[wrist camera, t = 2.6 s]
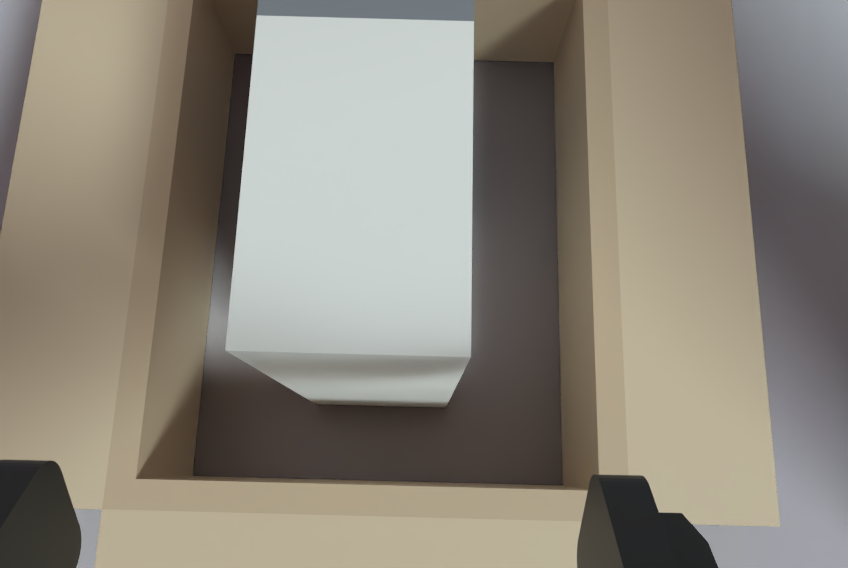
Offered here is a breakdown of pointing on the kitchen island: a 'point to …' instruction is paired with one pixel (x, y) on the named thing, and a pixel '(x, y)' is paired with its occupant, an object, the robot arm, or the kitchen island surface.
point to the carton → (193, 272)
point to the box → (357, 201)
